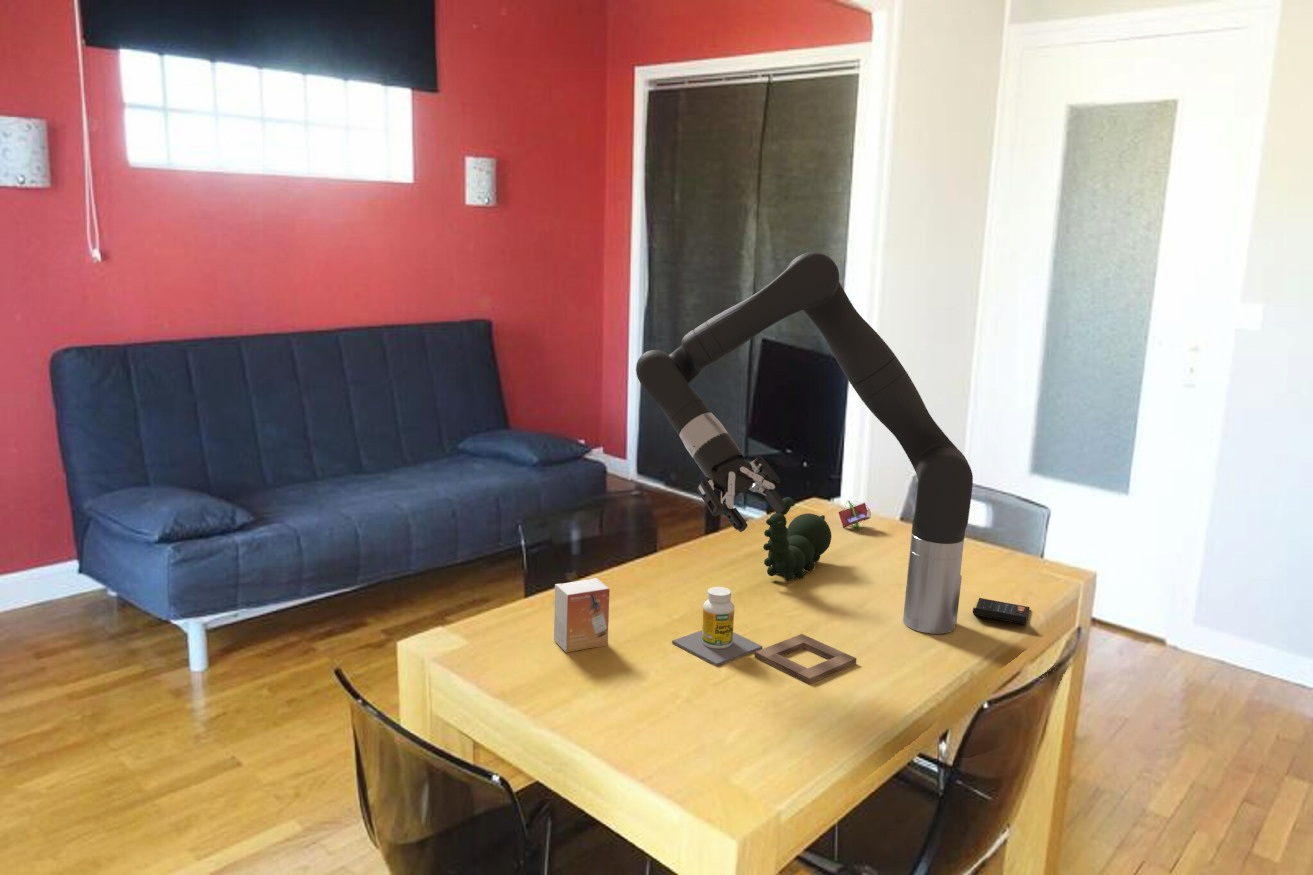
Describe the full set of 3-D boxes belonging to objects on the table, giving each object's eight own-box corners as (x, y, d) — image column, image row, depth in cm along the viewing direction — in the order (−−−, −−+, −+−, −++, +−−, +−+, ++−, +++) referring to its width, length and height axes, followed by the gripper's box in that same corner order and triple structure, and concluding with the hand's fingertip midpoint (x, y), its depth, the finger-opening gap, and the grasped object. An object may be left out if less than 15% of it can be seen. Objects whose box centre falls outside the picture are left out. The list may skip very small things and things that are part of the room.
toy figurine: (793, 600, 196) (842, 555, 216) (795, 511, 191) (846, 473, 211) (750, 589, 201) (803, 546, 221) (752, 502, 196) (805, 466, 216)
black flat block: (1029, 611, 192) (1031, 596, 191) (1024, 633, 181) (1026, 618, 181) (978, 601, 195) (980, 587, 195) (971, 623, 185) (973, 608, 184)
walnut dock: (801, 639, 175) (801, 633, 175) (856, 663, 166) (856, 658, 166) (754, 657, 167) (754, 651, 167) (809, 684, 158) (809, 678, 158)
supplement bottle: (720, 633, 175) (722, 582, 172) (738, 645, 170) (742, 593, 168) (695, 640, 172) (697, 588, 170) (713, 652, 167) (716, 599, 165)
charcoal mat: (717, 627, 179) (717, 624, 178) (762, 648, 171) (762, 646, 170) (671, 643, 171) (672, 640, 171) (716, 666, 163) (716, 663, 163)
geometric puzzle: (835, 523, 233) (858, 498, 232) (828, 514, 239) (850, 489, 238) (858, 541, 234) (880, 515, 233) (850, 531, 241) (871, 506, 240)
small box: (565, 653, 166) (566, 595, 164) (553, 640, 171) (553, 583, 169) (609, 645, 170) (610, 588, 167) (595, 632, 175) (596, 576, 172)
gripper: (685, 446, 166) (740, 524, 160) (748, 420, 173) (802, 494, 168) (671, 469, 171) (723, 546, 166) (733, 443, 179) (784, 515, 173)
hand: (763, 520), depth 167 cm, fingers open, 8 cm apart
